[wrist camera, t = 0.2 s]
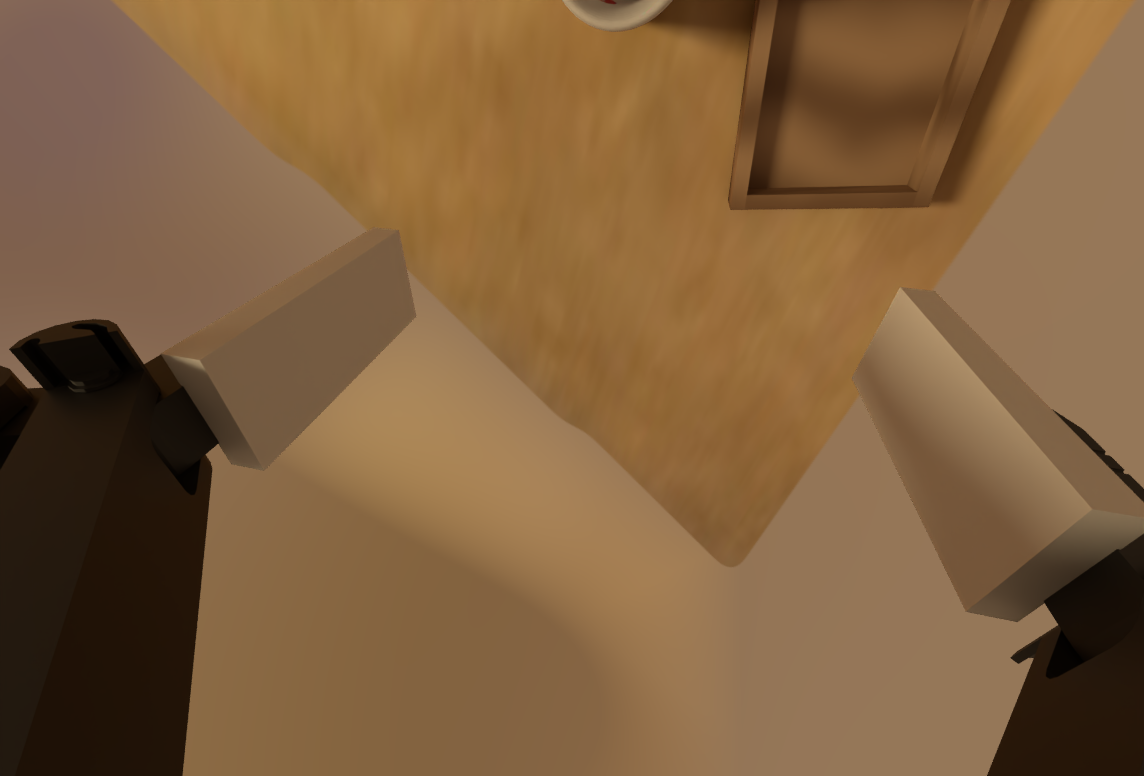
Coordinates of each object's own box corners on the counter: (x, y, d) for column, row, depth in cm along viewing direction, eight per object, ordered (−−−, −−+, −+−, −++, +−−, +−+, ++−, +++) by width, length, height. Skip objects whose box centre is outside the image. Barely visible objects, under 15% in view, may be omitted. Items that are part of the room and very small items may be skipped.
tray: (758, -22, 27) (763, -27, 25) (1006, -49, 25) (1033, -57, 23) (728, 200, 35) (730, 209, 33) (914, 197, 33) (928, 207, 31)
